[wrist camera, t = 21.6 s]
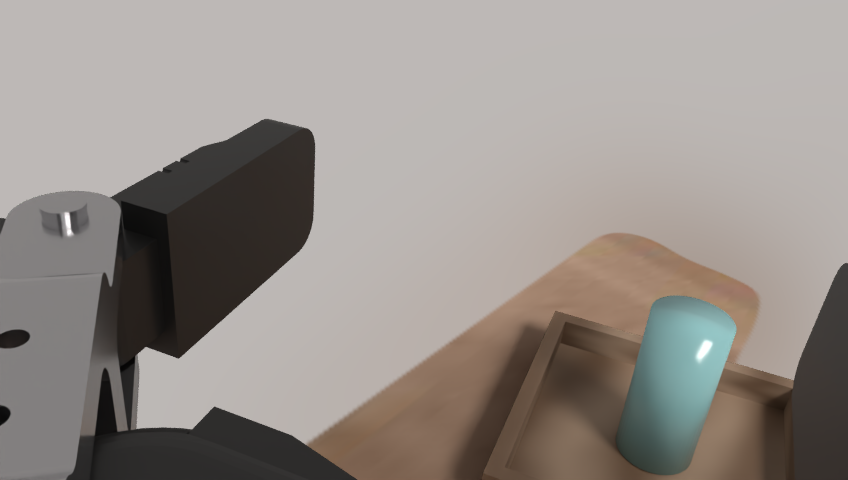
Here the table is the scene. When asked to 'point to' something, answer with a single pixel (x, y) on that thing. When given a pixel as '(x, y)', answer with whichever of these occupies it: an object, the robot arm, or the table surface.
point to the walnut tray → (603, 405)
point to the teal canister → (674, 383)
